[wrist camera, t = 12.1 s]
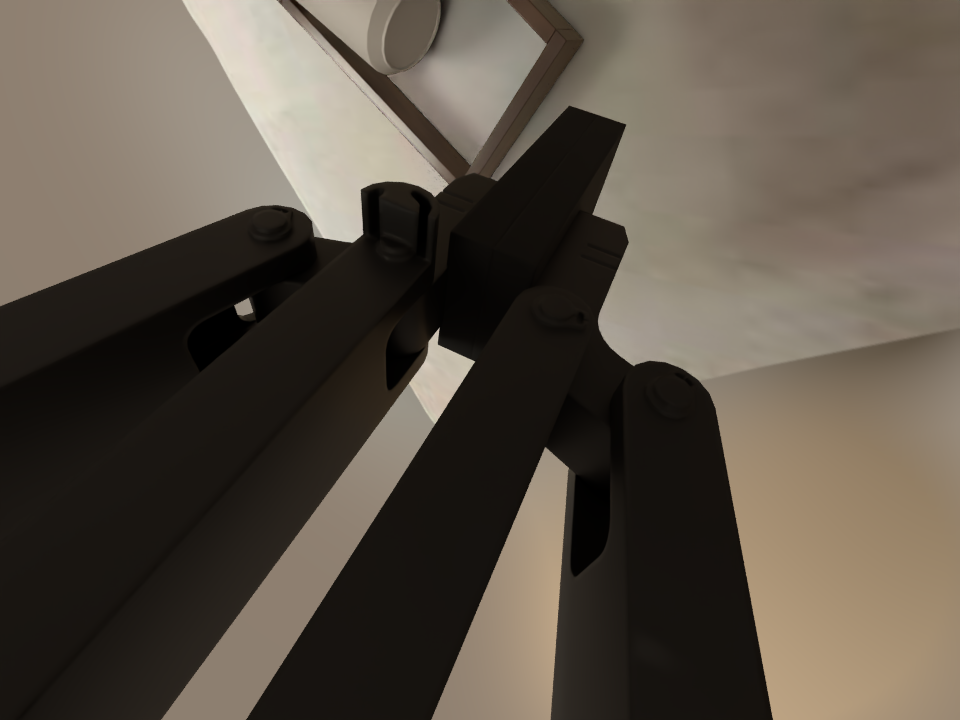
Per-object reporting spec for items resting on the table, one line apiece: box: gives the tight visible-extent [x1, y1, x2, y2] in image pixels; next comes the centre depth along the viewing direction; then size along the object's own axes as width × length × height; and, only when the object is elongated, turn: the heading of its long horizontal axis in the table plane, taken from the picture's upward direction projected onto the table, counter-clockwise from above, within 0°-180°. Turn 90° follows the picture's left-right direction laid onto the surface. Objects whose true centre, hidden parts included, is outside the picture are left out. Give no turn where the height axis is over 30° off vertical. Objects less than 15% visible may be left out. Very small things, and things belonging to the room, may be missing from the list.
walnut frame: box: [277, 0, 583, 184], centre depth 35 cm, size 24×14×3 cm, turn 53°
